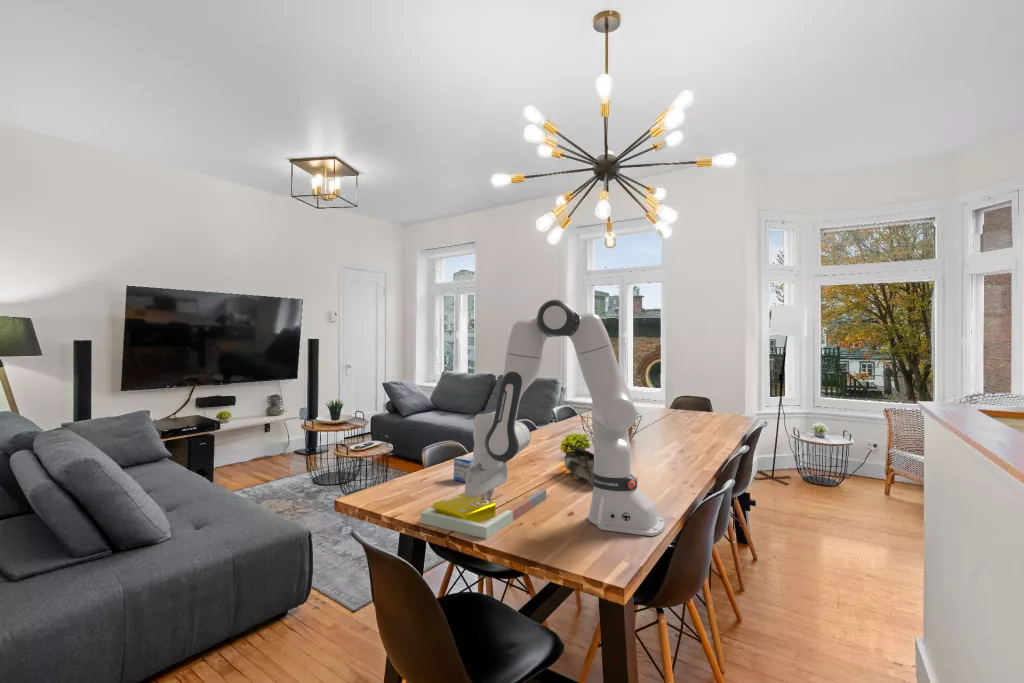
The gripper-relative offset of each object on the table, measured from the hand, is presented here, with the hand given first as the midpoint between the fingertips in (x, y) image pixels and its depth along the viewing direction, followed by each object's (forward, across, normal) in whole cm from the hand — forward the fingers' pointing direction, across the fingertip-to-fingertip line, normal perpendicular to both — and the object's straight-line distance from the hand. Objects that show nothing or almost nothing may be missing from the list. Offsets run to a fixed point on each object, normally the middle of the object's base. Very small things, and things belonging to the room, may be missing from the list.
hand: (486, 504), depth 154 cm
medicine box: (+2, +24, +25) cm, 35 cm away
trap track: (+2, +1, 0) cm, 2 cm away
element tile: (+3, -7, +4) cm, 9 cm away
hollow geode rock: (+2, +52, -15) cm, 54 cm away
